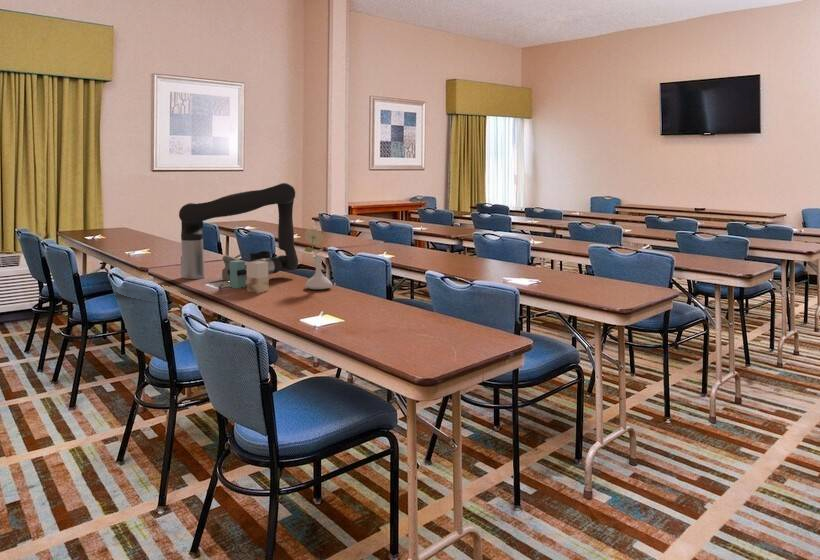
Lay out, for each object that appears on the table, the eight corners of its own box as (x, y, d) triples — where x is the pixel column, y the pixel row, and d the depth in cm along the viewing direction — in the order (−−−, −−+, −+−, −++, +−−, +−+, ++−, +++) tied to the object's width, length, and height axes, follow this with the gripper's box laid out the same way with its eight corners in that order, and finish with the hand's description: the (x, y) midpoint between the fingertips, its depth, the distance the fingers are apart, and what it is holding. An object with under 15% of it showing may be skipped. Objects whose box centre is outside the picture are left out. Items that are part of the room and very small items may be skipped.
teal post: (230, 287, 273) (229, 261, 271) (238, 285, 277) (237, 260, 275) (238, 288, 271) (237, 262, 269) (245, 287, 275) (245, 261, 273)
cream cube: (246, 277, 264) (246, 262, 263) (257, 275, 269) (256, 260, 268) (258, 278, 261) (257, 263, 260) (268, 276, 266) (268, 261, 265)
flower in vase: (337, 288, 275) (337, 228, 271) (320, 292, 265) (320, 230, 261) (313, 285, 281) (312, 226, 277) (296, 289, 272) (295, 228, 268)
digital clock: (247, 283, 285) (246, 258, 283) (226, 284, 281) (225, 259, 279) (241, 277, 299) (240, 253, 297) (220, 278, 296) (220, 254, 294)
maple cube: (247, 291, 265) (246, 277, 264) (257, 289, 270) (257, 275, 269) (258, 293, 262) (258, 278, 261) (268, 291, 267) (268, 276, 266)
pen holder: (268, 275, 305) (267, 253, 303) (248, 274, 305) (247, 253, 303) (272, 271, 314) (272, 251, 312) (253, 271, 314) (252, 250, 313)
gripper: (249, 257, 288) (219, 262, 273) (273, 260, 281) (245, 265, 266) (249, 274, 289) (220, 280, 275) (274, 277, 282) (245, 283, 268)
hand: (232, 272), depth 271 cm, fingers open, 4 cm apart
